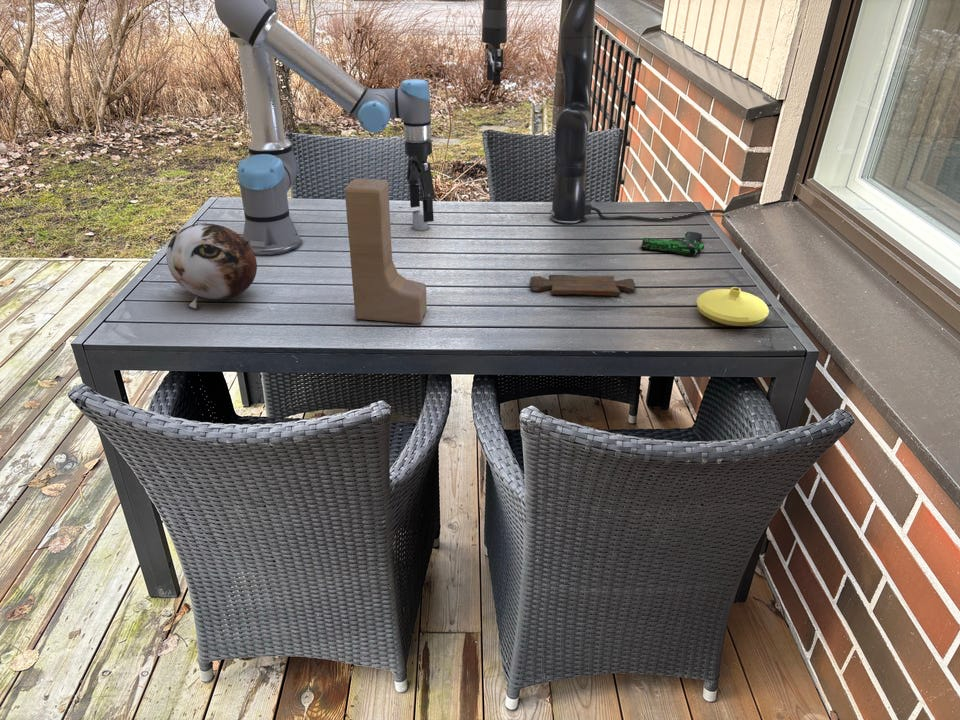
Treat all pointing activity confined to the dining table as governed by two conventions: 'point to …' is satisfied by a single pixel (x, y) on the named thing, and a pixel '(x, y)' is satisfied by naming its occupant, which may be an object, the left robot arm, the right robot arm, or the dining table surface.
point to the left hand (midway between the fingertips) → (421, 214)
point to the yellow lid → (732, 307)
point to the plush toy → (211, 261)
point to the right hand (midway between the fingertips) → (493, 82)
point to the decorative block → (378, 258)
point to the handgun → (676, 244)
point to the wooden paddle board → (581, 285)
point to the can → (419, 221)
